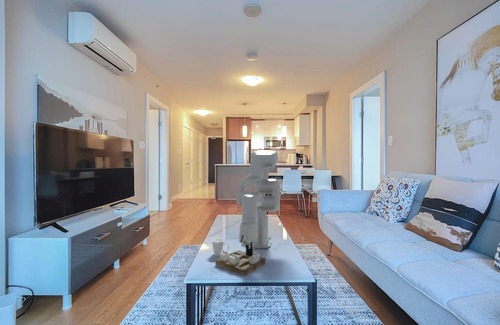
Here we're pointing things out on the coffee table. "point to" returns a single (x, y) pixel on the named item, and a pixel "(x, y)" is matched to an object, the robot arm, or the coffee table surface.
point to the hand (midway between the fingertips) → (249, 255)
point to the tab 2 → (254, 258)
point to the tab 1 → (224, 256)
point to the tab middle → (234, 259)
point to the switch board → (241, 264)
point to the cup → (218, 246)
